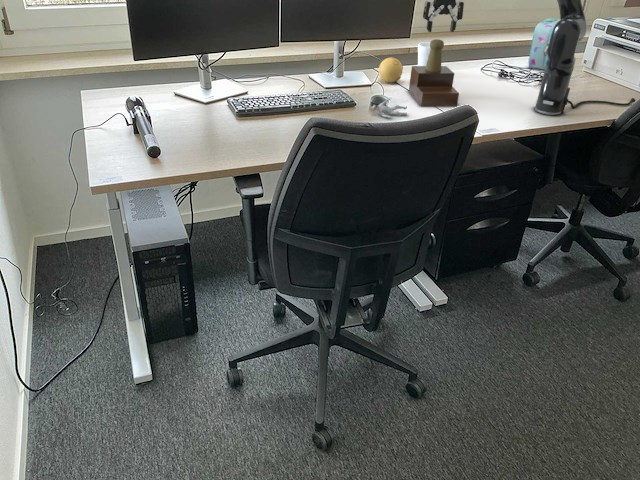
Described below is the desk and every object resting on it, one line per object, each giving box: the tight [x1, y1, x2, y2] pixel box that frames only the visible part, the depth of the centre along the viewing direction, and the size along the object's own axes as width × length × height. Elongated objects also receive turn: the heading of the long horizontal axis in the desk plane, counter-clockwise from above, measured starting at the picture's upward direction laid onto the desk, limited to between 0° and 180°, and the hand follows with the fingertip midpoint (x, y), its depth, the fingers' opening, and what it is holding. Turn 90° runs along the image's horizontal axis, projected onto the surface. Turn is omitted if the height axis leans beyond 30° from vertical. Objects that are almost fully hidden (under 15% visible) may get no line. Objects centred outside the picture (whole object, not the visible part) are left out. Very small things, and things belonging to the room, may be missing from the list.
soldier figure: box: [372, 97, 408, 119], centre depth 192 cm, size 8×5×12 cm
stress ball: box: [378, 56, 404, 83], centre depth 224 cm, size 10×10×10 cm
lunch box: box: [528, 17, 560, 71], centre depth 252 cm, size 27×10×21 cm, turn 147°
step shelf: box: [408, 65, 460, 107], centre depth 208 cm, size 18×14×10 cm
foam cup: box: [417, 41, 431, 66], centre depth 233 cm, size 10×9×13 cm
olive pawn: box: [425, 38, 445, 72], centre depth 206 cm, size 6×6×11 cm
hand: (440, 31), depth 200 cm, fingers open, 8 cm apart
